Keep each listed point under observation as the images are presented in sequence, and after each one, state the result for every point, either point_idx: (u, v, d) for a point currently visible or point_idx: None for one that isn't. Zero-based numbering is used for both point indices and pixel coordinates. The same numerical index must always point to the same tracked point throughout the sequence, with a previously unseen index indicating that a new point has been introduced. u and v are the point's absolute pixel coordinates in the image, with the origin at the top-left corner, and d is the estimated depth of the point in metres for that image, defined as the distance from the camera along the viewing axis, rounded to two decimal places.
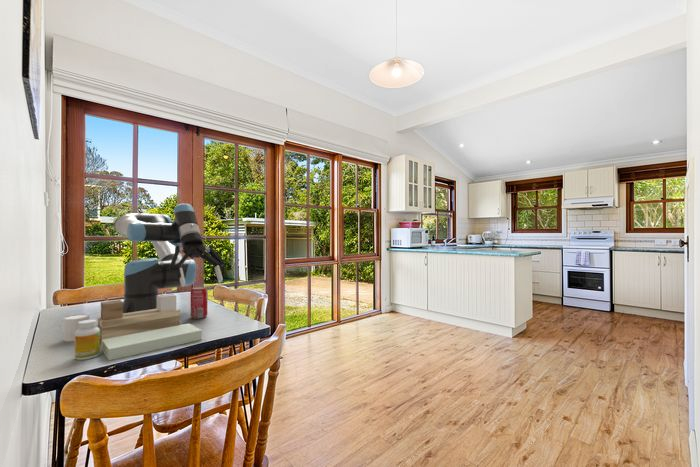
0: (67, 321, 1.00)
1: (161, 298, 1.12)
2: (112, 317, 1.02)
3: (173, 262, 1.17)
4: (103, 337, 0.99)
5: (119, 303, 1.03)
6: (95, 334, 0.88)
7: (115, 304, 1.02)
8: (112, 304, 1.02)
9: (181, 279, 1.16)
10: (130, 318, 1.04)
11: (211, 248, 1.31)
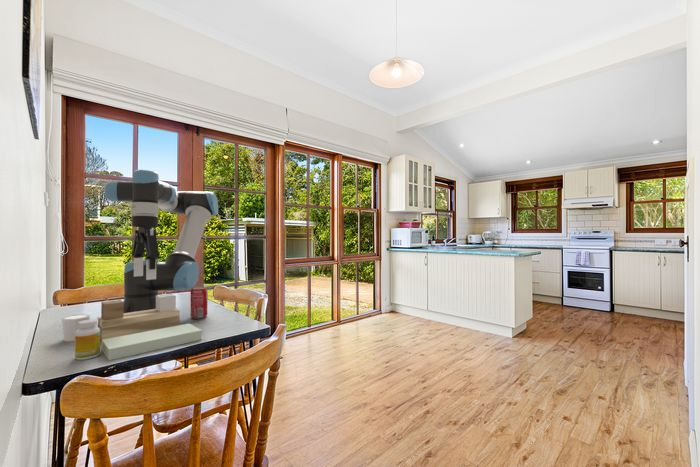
0: (67, 321, 1.00)
1: (160, 298, 1.11)
2: (113, 317, 1.02)
3: (133, 250, 1.15)
4: (103, 337, 0.99)
5: (120, 303, 1.03)
6: (95, 334, 0.88)
7: (116, 304, 1.02)
8: (113, 304, 1.02)
9: None
10: (130, 318, 1.04)
11: (147, 234, 1.05)
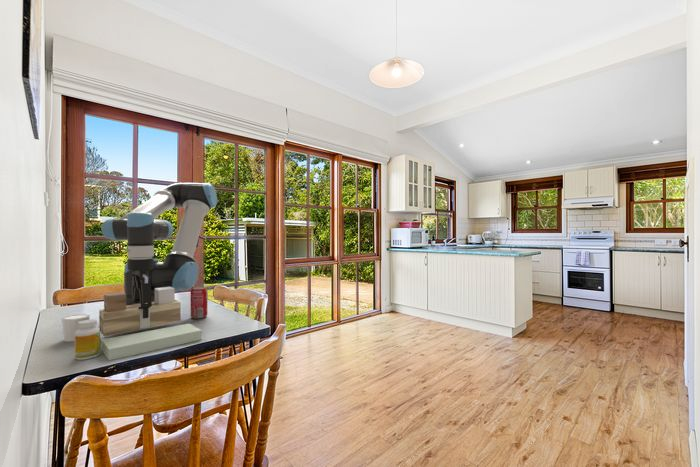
0: (67, 321, 1.00)
1: (159, 291, 1.11)
2: (115, 309, 1.02)
3: (132, 295, 1.13)
4: (105, 329, 0.99)
5: (122, 295, 1.04)
6: (95, 334, 0.88)
7: (118, 296, 1.03)
8: (115, 296, 1.02)
9: None
10: (131, 310, 1.04)
11: (141, 282, 1.04)
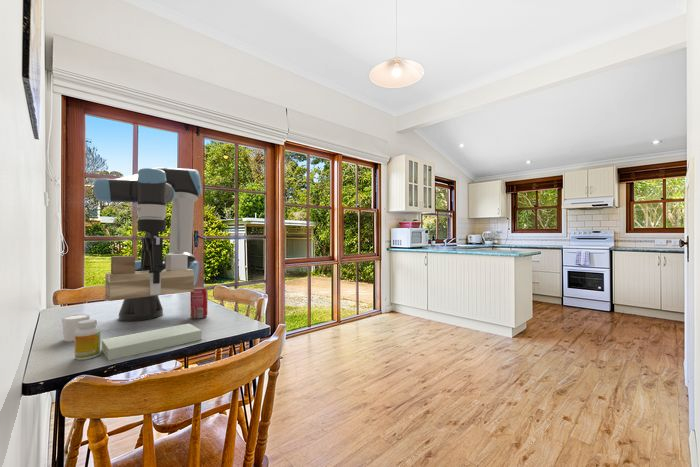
0: (67, 321, 1.00)
1: (171, 256, 1.01)
2: (123, 272, 0.92)
3: (141, 262, 1.03)
4: (111, 292, 0.89)
5: (131, 257, 0.94)
6: (95, 334, 0.88)
7: (127, 258, 0.93)
8: (123, 257, 0.93)
9: None
10: (141, 274, 0.94)
11: (152, 243, 0.95)
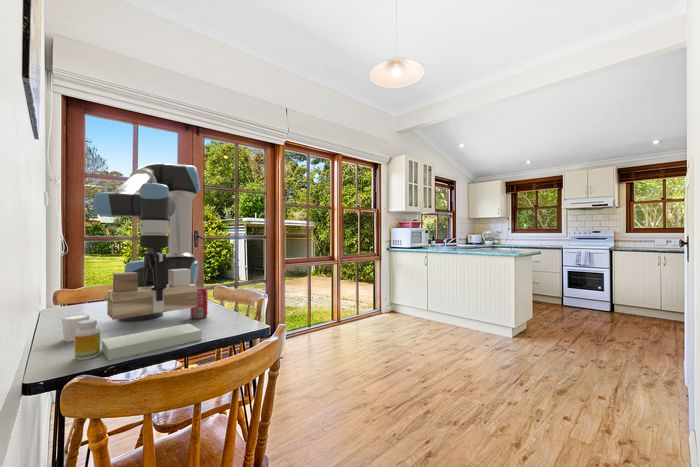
0: (67, 321, 1.00)
1: (174, 272, 1.00)
2: (126, 289, 0.91)
3: (143, 277, 1.02)
4: (114, 311, 0.88)
5: (134, 274, 0.92)
6: (95, 334, 0.88)
7: (129, 275, 0.91)
8: (126, 275, 0.91)
9: None
10: (144, 291, 0.93)
11: (155, 260, 0.93)
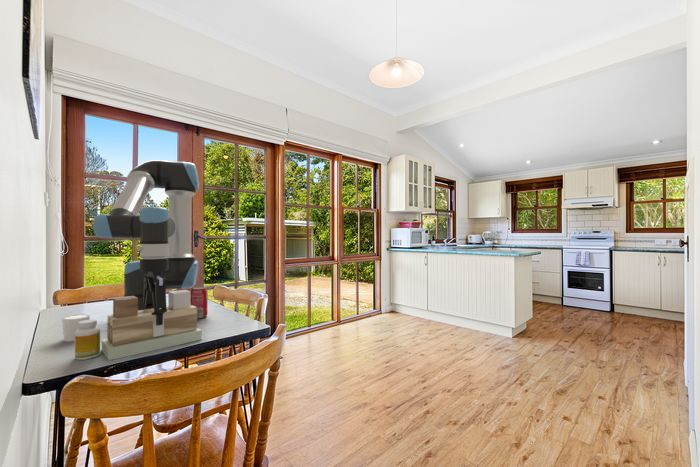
0: (67, 321, 1.00)
1: (174, 294, 1.00)
2: (126, 315, 0.91)
3: (143, 299, 1.02)
4: (114, 337, 0.88)
5: (134, 299, 0.92)
6: (95, 334, 0.88)
7: (129, 300, 0.91)
8: (126, 300, 0.91)
9: None
10: (144, 316, 0.93)
11: (155, 284, 0.93)
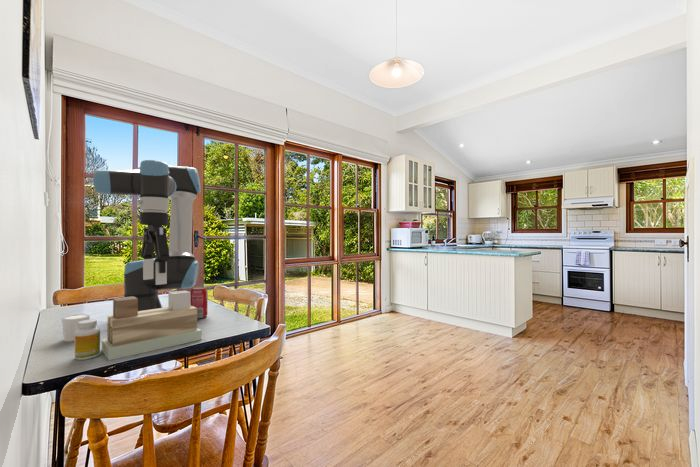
0: (67, 321, 1.00)
1: (174, 295, 1.00)
2: (126, 315, 0.91)
3: (142, 250, 1.03)
4: (114, 338, 0.88)
5: (134, 300, 0.92)
6: (95, 334, 0.88)
7: (129, 301, 0.92)
8: (126, 301, 0.91)
9: None
10: (144, 317, 0.93)
11: (156, 233, 0.93)
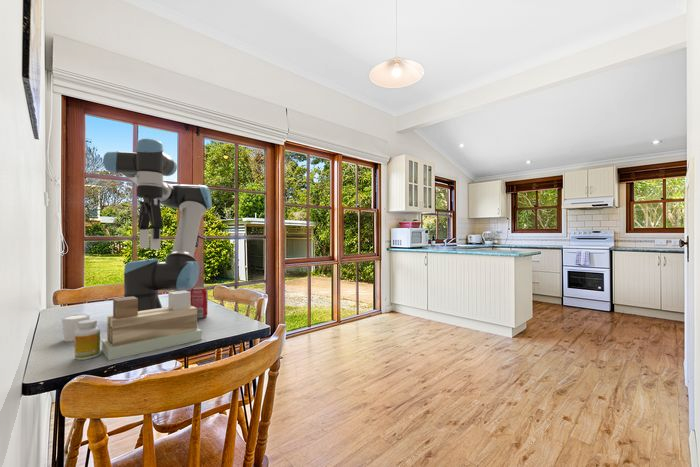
0: (67, 321, 1.00)
1: (174, 295, 1.00)
2: (126, 315, 0.91)
3: (138, 222, 1.14)
4: (114, 338, 0.88)
5: (134, 300, 0.92)
6: (95, 334, 0.88)
7: (129, 301, 0.92)
8: (126, 301, 0.91)
9: None
10: (144, 317, 0.93)
11: (151, 203, 1.04)
